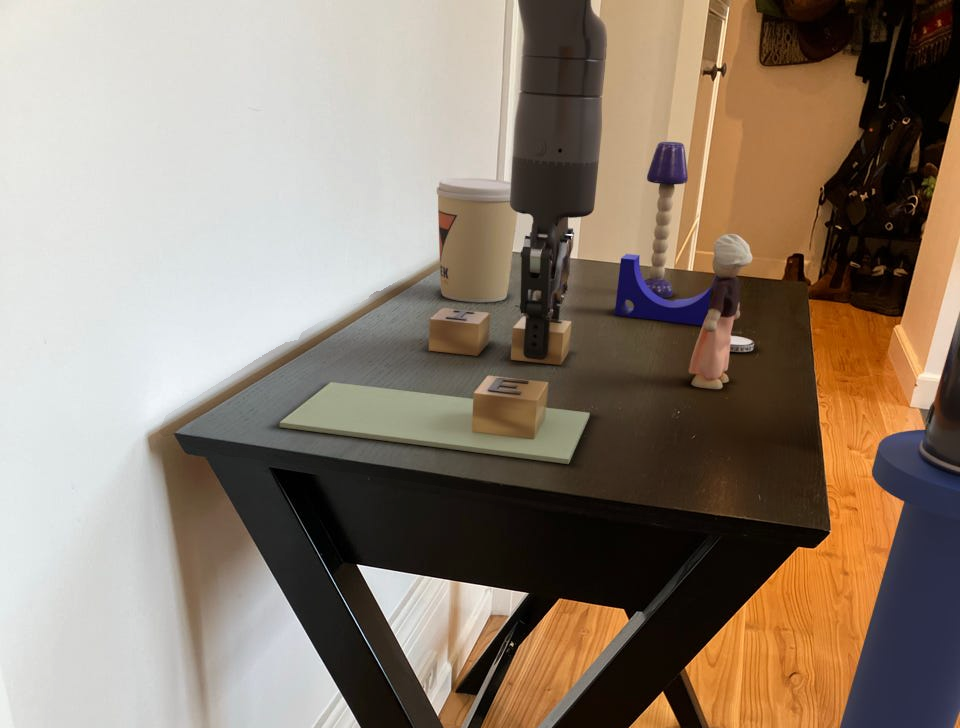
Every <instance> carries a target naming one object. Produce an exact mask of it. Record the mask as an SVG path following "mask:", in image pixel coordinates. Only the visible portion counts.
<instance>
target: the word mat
mask: <svg viewBox="0 0 960 728" xmlns="http://www.w3.org/2000/svg"><path fill="white" fill-rule="evenodd" d="M472 415H473V398H468V397H460V396H451V395H444V394H443V395H442V394H434V393H427V392H418V391H410V390H402V389H392V388H386V387H385V388H384V387H378V386H377V387H376V386H368V385H360V384H350V383H343V382H334V381H330V382H329V383H328V384H326V385H325V386H324V387H322V388H321V389H320V390H318V392H316V393H315V394H314V395H313V396H311V397H310V398H308V399H307V400H306V401H305V402H303V403H302V404H301V405H299V406H298V407H297V408H296V409H294V410H293V411H292V412H291V413H290V414H288V415H287V416H286V417H284V418H283V419H282V420H280V421H279V428H284V429H291V430H297V431H298V430H299V431H307V432H314V433H323V434H324V433H325V434H330V435H336V436H337V435H338V436H347V437H355V438H362V439H367V440H368V439H370V440H377V441H384V442H392V443H400V444H408V445H416V446H425V447H431V448H439V449H440V448H441V449H448V450H455V451H456V450H457V451H463V452H470V453H478V454H487V455H494V456H502V457H509V458H518V459H525V460H534V461H540V462H549V463H558V464H564V465H569V464H570V462H571V459H572V457H573V455H574V453H575V450H576V448H577V446H578V443H579V441H580V439H581V437H582V434H583V432H584V430H585V428H586V426H587V423H588V420H589V419H590V415H591V413H590V412H588V411H577V410H569V409H562V408H555V407H554V408H552V407H546V416H545V421H544V422H543V424H542V426H541V428H540V429H539V431H538V433H537V435H536V437H535V438H534V439H528V438H519V437H511V436H503V435H495V434H487V433H479V432H472Z"/></svg>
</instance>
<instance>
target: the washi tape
mask: <svg viewBox="0 0 960 728" xmlns="http://www.w3.org/2000/svg"><path fill="white" fill-rule="evenodd" d="M754 347H755V342H754V341H753V340H752V339H750V338H747V337H742V336H738V335H737V336H736V335H731V343H730V352H733V353H734V352H735V353H747V352H752V351H753V350H754Z"/></svg>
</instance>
